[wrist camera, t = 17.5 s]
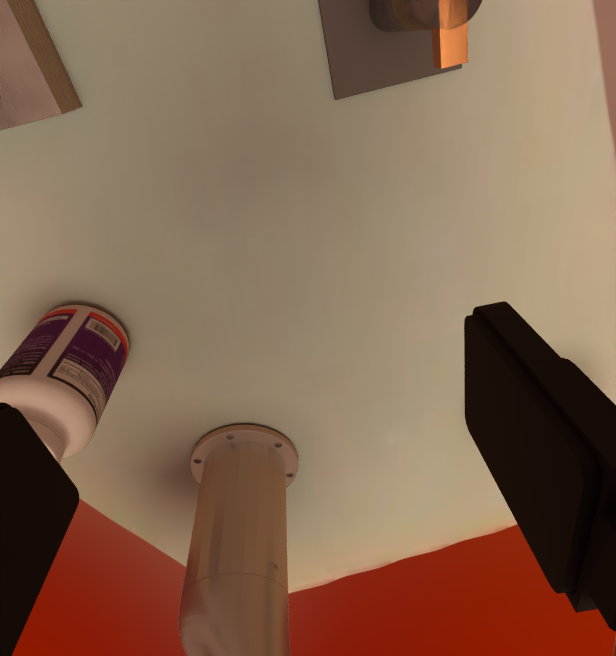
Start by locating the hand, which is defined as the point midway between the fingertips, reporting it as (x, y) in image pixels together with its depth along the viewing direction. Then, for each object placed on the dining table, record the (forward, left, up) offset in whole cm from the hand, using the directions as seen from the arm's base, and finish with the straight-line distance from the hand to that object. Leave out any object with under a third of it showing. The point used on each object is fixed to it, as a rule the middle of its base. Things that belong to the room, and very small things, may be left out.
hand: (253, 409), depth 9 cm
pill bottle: (-13, +21, -29) cm, 38 cm away
